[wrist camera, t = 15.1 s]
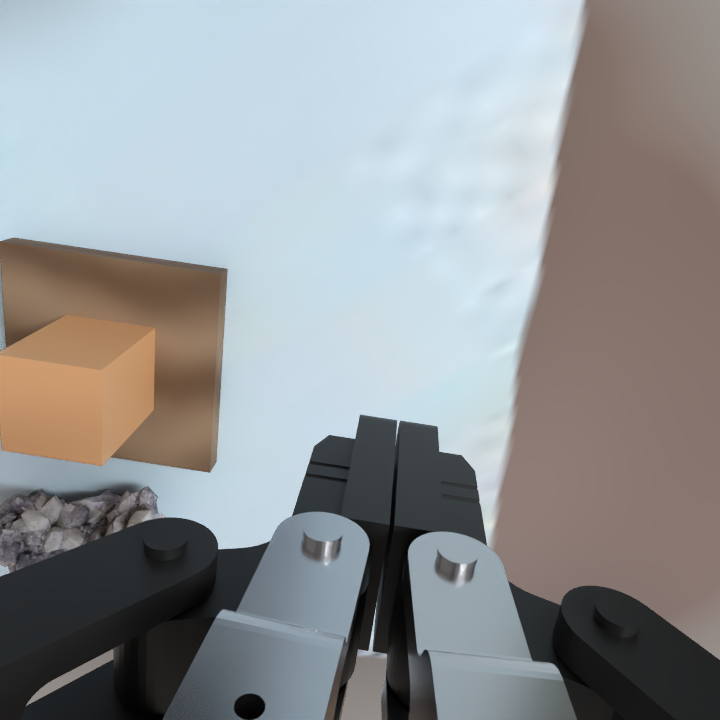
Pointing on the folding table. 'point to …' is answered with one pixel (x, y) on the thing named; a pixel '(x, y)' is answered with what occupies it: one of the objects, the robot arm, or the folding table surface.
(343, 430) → the folding table surface
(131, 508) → the mineral specimen
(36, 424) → the tan wooden cube
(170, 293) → the post board
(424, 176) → the folding table surface
